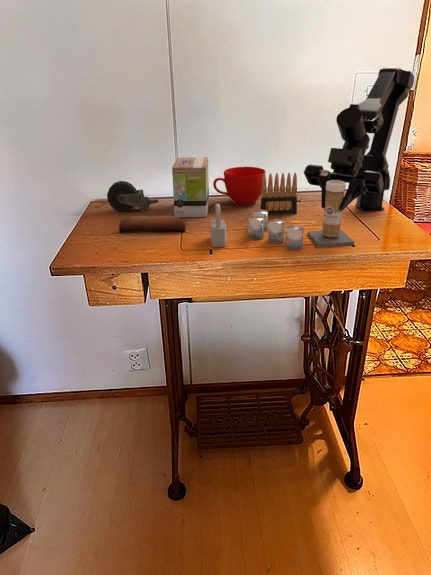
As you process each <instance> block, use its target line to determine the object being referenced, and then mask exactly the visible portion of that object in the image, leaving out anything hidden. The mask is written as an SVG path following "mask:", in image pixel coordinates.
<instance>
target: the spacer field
mask: <svg viewBox="0 0 431 575" xmlns="http://www.w3.org/2000/svg"><path fill="white" fill-rule="evenodd" d="M285 225H286V221H285V220H284V219H281V218H273V219H269V215H268V211H266V210H260V209H255V210H253V211H252V215H251V216H249V217H248V225H247V226H248V229H247V230H248V236H247V237H248V239H250V240H254V241H255V240H258V241H259V240H262V239H264V237H265V233H266V232H268V235H267V236H268V239H267V240H268V241H267V242H269V243H270V244H274V245H275V244H283V243H284V242H285V249H287V250H289V251H301V250H302V249H303V243H304V229H305V227H304V226H302V225H299V224H298V225H297V224H291V225H288V226H287V227H286V226H285ZM285 227H286V229H285ZM285 230H286V233H285ZM285 234H286V237H285ZM285 238H286V239H285ZM285 240H286V241H285Z"/></svg>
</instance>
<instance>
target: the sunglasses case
mask: <svg viewBox="0 0 431 575" xmlns="http://www.w3.org/2000/svg"><path fill="white" fill-rule="evenodd" d="M186 225H187V222H184V220H183V219H182V217H175V216H174V215H160V216H159V215H158V216H157V215H153V216H149V215H147V216H144V215H136V216H130V217H127V218H124V219H122V220H121V221H120V222H119V226H118V230H119V233H120V232H121V233H129V232H137V231H138V232H140V231H183V232H184V233H186V228H187V226H186Z"/></svg>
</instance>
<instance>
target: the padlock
mask: <svg viewBox="0 0 431 575" xmlns="http://www.w3.org/2000/svg"><path fill="white" fill-rule="evenodd" d="M214 209H215V212H214V213H215V219H212V220H211V221H210V224H209V225H210V226H209V227H210V228H209V229H210V231H209V233H210V243H211V245H212V247H213V248H226V244H227V223H226V221H225V220H224V218H221V216H222V215H221V214H222V213H221V205H220V203H219V202H218V203H215V208H214Z"/></svg>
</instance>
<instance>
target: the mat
mask: <svg viewBox="0 0 431 575" xmlns="http://www.w3.org/2000/svg"><path fill="white" fill-rule="evenodd" d="M307 235H308V237H309V238H310V239H311V240H312V242H313V243H314V244H315V245H316V247H317V248H328V247H342V246H354V245H355V241H354V240H353V239H352V238H351V237H350V236H349V235H348V234H347V233H346V232H345V231H344V230H343V229H342V228H340V235H339V236H338V237H326V236H324V235H322V230H308V231H307Z"/></svg>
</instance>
